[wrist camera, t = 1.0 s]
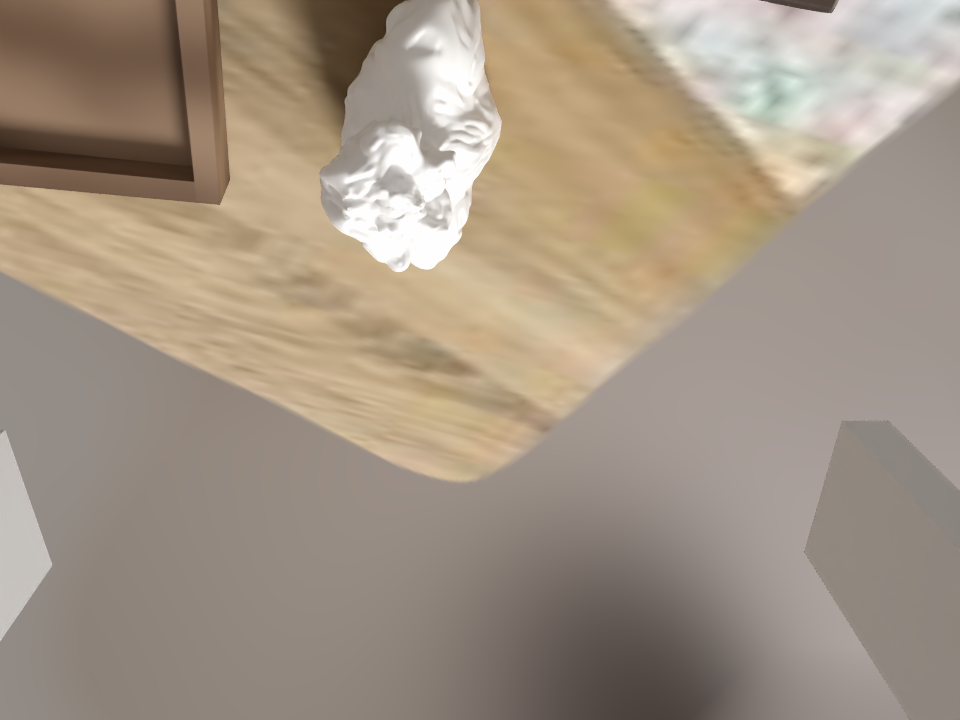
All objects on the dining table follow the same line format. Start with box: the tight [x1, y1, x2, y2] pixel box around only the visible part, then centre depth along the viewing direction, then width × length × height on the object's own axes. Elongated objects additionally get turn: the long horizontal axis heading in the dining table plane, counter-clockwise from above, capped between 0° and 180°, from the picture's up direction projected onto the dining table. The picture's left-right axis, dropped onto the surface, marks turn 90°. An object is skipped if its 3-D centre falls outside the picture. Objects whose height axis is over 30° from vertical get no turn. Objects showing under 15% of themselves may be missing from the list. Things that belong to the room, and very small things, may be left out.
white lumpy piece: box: [320, 0, 501, 272], centre depth 29 cm, size 12×8×11 cm
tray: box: [0, 0, 230, 205], centre depth 28 cm, size 13×13×2 cm
